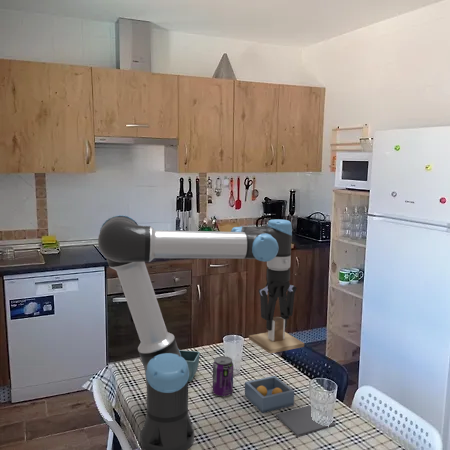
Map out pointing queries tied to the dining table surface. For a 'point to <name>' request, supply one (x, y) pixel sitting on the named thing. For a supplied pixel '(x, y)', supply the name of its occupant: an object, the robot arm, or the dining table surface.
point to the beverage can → (222, 376)
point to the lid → (276, 339)
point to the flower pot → (191, 362)
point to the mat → (300, 421)
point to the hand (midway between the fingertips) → (276, 338)
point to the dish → (269, 394)
